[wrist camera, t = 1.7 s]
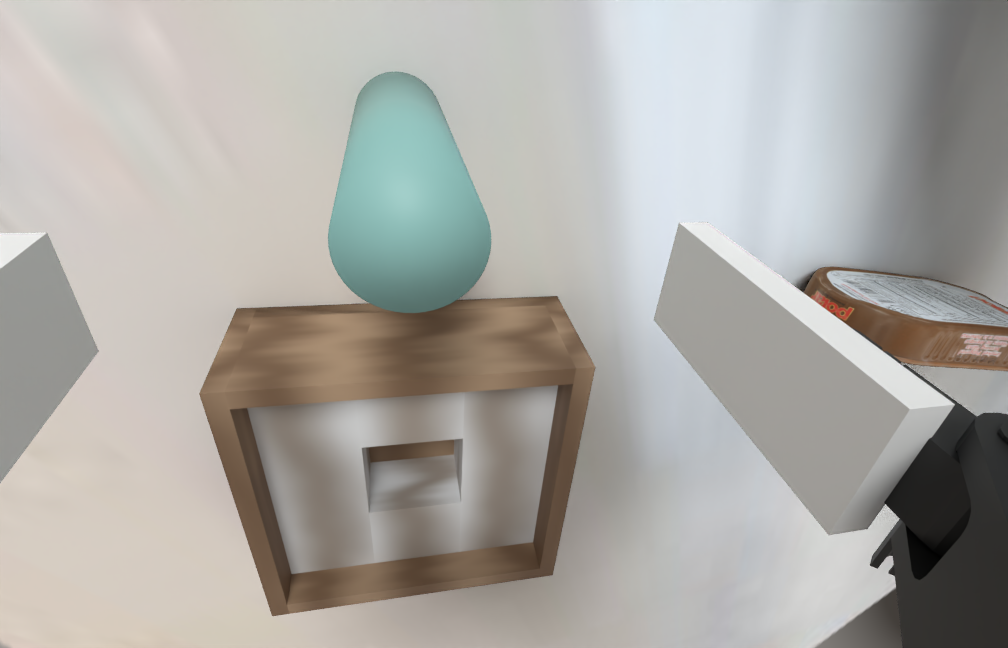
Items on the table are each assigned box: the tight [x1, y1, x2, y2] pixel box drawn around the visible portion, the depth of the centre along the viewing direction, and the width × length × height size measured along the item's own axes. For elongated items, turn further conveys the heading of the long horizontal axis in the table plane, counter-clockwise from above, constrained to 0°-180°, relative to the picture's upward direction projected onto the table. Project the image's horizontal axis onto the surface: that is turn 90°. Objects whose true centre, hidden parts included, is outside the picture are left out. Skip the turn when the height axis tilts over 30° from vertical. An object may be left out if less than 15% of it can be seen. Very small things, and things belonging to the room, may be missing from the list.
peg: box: [328, 72, 491, 313], centre depth 19 cm, size 4×4×14 cm
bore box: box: [199, 296, 595, 616], centre depth 32 cm, size 18×18×7 cm
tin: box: [804, 267, 1008, 371], centre depth 33 cm, size 15×3×8 cm, turn 79°
